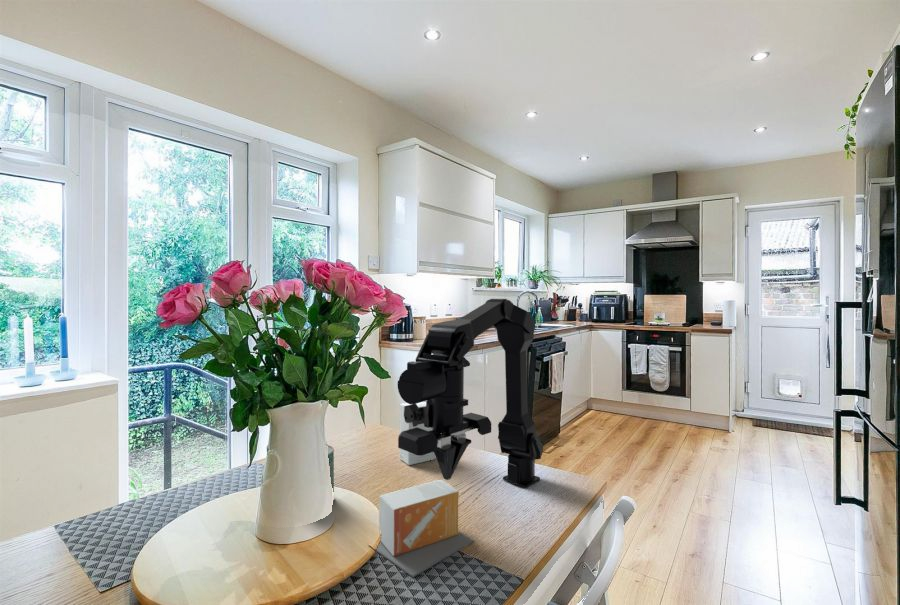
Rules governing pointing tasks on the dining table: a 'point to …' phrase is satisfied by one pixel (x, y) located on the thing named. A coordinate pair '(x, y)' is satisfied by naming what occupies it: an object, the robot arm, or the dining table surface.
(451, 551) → the mat
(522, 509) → the dining table surface
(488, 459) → the dining table surface
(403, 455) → the skincare box
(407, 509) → the small box
